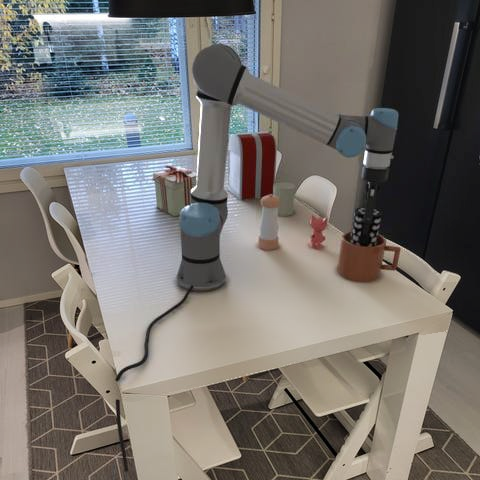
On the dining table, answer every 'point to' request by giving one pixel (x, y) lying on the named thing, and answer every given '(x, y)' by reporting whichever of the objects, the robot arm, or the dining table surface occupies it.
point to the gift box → (174, 189)
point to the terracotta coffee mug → (364, 259)
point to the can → (284, 197)
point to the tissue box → (251, 164)
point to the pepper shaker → (269, 223)
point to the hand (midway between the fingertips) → (364, 235)
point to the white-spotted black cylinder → (357, 227)
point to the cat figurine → (317, 231)
